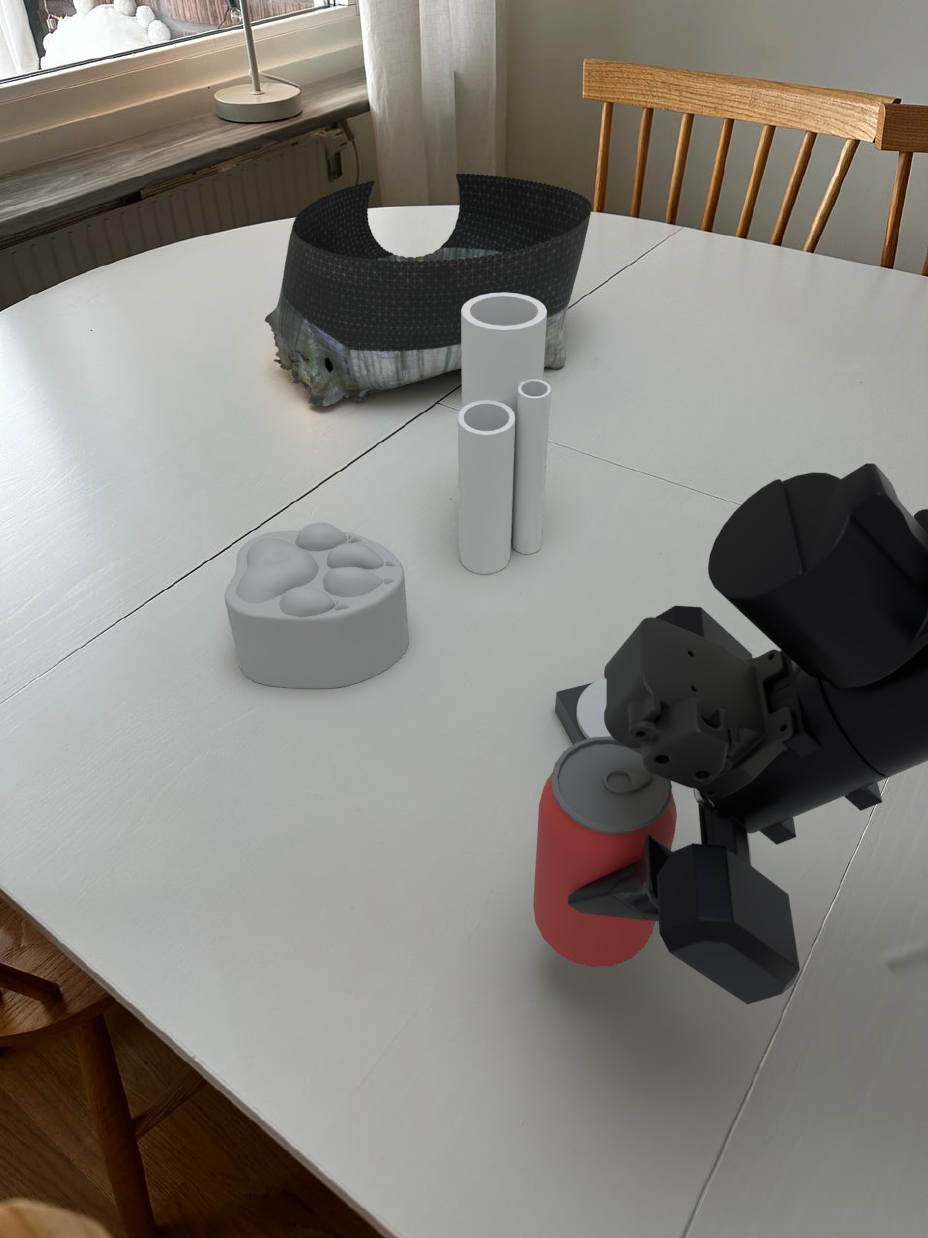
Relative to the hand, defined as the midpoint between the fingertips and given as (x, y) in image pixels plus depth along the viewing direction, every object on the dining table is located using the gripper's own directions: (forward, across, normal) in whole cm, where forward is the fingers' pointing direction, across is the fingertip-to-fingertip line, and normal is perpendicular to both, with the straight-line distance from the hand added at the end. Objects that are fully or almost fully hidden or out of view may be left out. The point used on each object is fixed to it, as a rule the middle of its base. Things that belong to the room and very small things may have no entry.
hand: (575, 844), depth 49 cm
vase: (+14, -41, +4) cm, 43 cm away
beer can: (+4, 0, +6) cm, 7 cm away
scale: (+6, -18, +12) cm, 22 cm away
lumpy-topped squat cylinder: (+22, -26, -5) cm, 34 cm away
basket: (+21, -74, -4) cm, 77 cm away
